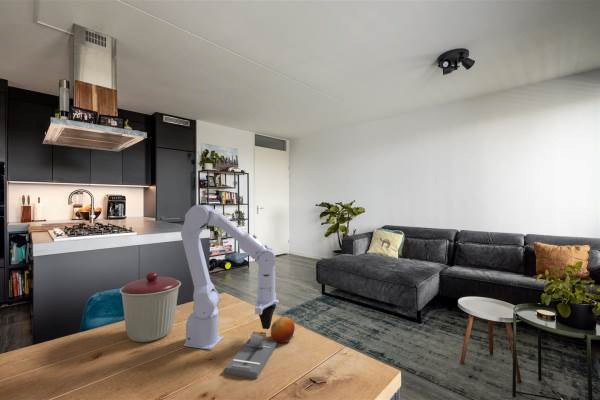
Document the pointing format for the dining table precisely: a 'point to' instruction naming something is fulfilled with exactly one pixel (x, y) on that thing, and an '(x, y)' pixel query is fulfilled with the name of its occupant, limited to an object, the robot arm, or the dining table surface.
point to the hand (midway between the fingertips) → (266, 328)
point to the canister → (149, 307)
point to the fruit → (282, 330)
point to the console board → (250, 360)
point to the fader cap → (258, 339)
